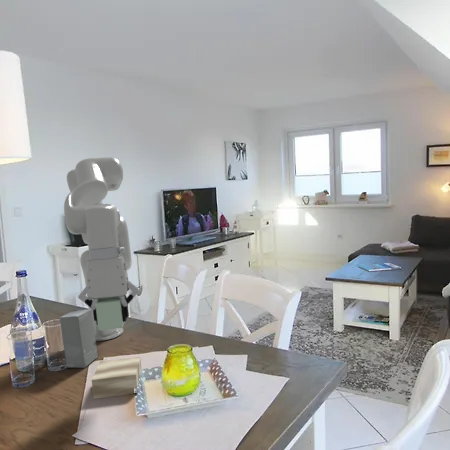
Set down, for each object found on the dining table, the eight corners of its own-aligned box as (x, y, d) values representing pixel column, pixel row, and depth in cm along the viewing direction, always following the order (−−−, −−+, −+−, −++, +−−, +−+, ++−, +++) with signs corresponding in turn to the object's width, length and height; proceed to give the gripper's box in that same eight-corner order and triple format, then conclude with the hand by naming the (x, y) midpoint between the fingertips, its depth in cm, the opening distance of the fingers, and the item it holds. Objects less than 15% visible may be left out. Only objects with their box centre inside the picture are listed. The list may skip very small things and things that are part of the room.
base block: (102, 378, 117) (100, 361, 117) (141, 374, 118) (140, 356, 118) (93, 398, 107) (91, 379, 106) (137, 393, 108) (135, 374, 107)
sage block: (102, 322, 113) (100, 297, 113) (125, 320, 114) (122, 295, 113) (98, 330, 107) (95, 303, 107) (122, 327, 108) (119, 301, 107)
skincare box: (85, 368, 125) (79, 316, 124) (63, 368, 127) (57, 317, 125) (99, 356, 133) (93, 307, 132) (79, 356, 135) (73, 308, 133)
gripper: (139, 248, 113) (146, 313, 115) (73, 254, 112) (81, 320, 114) (136, 252, 106) (144, 322, 108) (66, 259, 104) (74, 330, 106)
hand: (112, 321), depth 111 cm, fingers closed on sage block, 6 cm apart
